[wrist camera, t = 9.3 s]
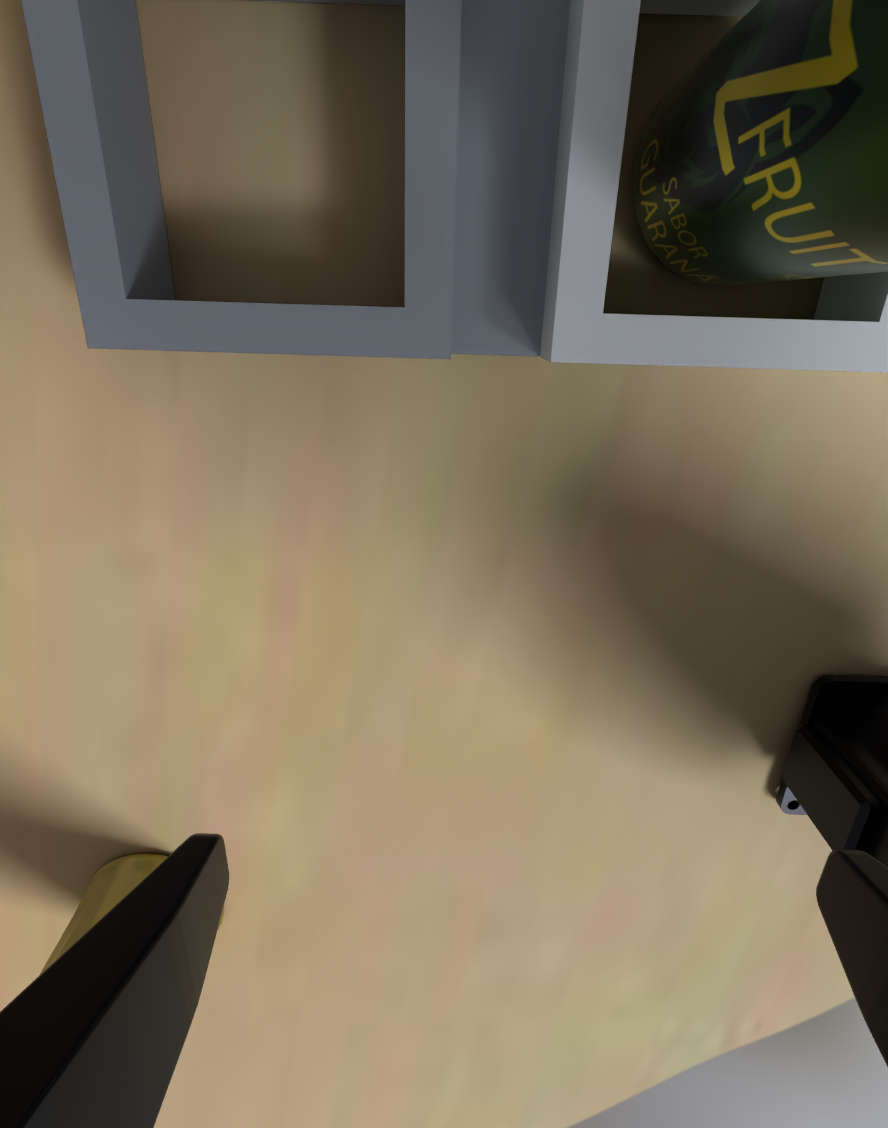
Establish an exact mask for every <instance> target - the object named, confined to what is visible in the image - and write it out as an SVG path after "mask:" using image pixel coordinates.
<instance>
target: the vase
mask: <svg viewBox="0 0 888 1128" xmlns="http://www.w3.org/2000/svg"><path fill="white" fill-rule="evenodd" d="M167 857H168V856H165V855H159V854H134V855H127V856H124V857H120V858H118V859H115V860H113V861H111V862H109V863H107V864H106V865H104V866H103V867H102V868H100V869H99V870H98V871H97V872H96V873H95V875H94V876H93V877H92V879H91V881H90V884H89V886H88V888H87V891H86V893H85V895H84V897H83V899H82V901H81V903H80V904H79V906H78V908H77V910H76V912H75V914H74V916H73V917H72V919H71V921H70V923H69V924H68V926H67V928H66V930H65V931H64V933H63V935H62V937H61V939H60V940H59V942H58V944H57V946H56V947H55V949H54V951H53V952H52V954H51V956H50V958H49V959H48V961H47V963H46V964H45V966H44V968H43V970H42V972H41V973H40V975H41V974H42V973H43V972H44V971H45V970H46V969H47V968H48V967H49V966H50V965H52V964H53V963H54V962H55V961H56V960H57V959H58V958H59V957H60V956H61V955H62V954H63V953H65V952H66V951H67V950H68V949H69V948H70V947H71V946H72V945H73V944H74V943H75V942H76V941H77V940H79V939H80V938H81V937H82V936H83V935H84V934H85V933H86V932H87V931H88V930H89V929H90V928H92V927H93V926H94V925H95V924H96V923H97V922H98V921H99V920H100V919H101V918H102V917H103V916H104V915H106V914H107V913H108V912H109V911H110V910H111V909H112V908H113V907H114V906H115V905H116V904H117V903H119V902H120V901H121V900H122V899H123V898H124V897H125V896H126V895H127V894H128V893H129V892H130V891H131V890H133V889H134V888H135V887H136V886H137V885H138V884H139V883H140V882H141V881H142V880H143V879H144V878H146V877H147V876H148V875H149V874H150V873H151V872H152V871H153V870H154V869H155V868H156V867H157V866H158V865H160V864H161V863H162V862H163V861H164V860H165V859H166V858H167ZM223 914H224V906H223V910H222V914H221V918H220V921H219V925H218V929H219V927H220V925H221V923H222V920H223ZM218 929H217V930H218ZM40 975H39V976H40Z"/></svg>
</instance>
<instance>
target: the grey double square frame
mask: <svg viewBox="0 0 888 1128" xmlns="http://www.w3.org/2000/svg"><path fill="white" fill-rule="evenodd" d="M253 1H283V2H314V3H344V4H375V5H405V307H383V306H350V305H317V304H284V303H251V302H219V301H186V300H176V299H175V292H174V284H173V277H172V269H171V262H170V254H169V247H168V240H167V232H166V225H165V217H164V210H163V202H162V195H161V187H160V180H159V172H158V165H157V157H156V150H155V142H154V135H153V127H152V120H151V113H150V105H149V98H148V90H147V83H146V75H145V68H144V60H143V53H142V45H141V38H140V30H139V23H138V15H137V8H136V0H21V2H22V7H23V12H24V18H25V23H26V28H27V33H28V38H29V44H30V49H31V54H32V59H33V65H34V70H35V75H36V80H37V85H38V91H39V96H40V101H41V106H42V111H43V117H44V122H45V127H46V132H47V138H48V143H49V148H50V153H51V158H52V164H53V169H54V174H55V179H56V185H57V190H58V195H59V200H60V205H61V211H62V216H63V221H64V226H65V232H66V237H67V242H68V247H69V252H70V258H71V263H72V268H73V273H74V279H75V284H76V289H77V294H78V299H79V305H80V310H81V315H82V320H83V326H84V331H85V336H86V341H87V346H88V348H97V349H130V350H164V351H197V352H230V353H263V354H296V355H330V356H363V357H396V358H429V359H451V354H480V355H513V356H540V357H542V358H544V359H546V360H548V361H550V362H562V363H595V364H629V365H662V366H695V367H728V368H761V369H795V370H828V371H861V372H888V272H877V273H866V274H854V275H842V276H831V277H824V279H823V284H822V288H821V292H820V296H819V300H818V304H817V308H816V312H815V316H814V320H809V319H776V318H743V317H711V316H678V315H645V314H612V313H603V309H604V300H605V292H606V284H607V276H608V267H609V259H610V251H611V242H612V234H613V226H614V218H615V209H616V201H617V193H618V185H619V176H620V168H621V160H622V152H623V143H624V135H625V127H626V119H627V110H628V102H629V94H630V86H631V77H632V69H633V61H634V53H635V44H636V36H637V28H638V20H639V13H649V14H680V15H710V16H741V17H744V16H745V15H746V14H747V13H748V12H749V11H750V10H751V9H752V8H753V7H754V6H755V5H756V4H757V3H758V2H759V1H760V0H253Z"/></svg>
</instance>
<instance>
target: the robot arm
mask: <svg viewBox="0 0 888 1128" xmlns="http://www.w3.org/2000/svg"><path fill="white" fill-rule="evenodd" d="M829 687H831V688H830V690H828V691H825V690H826V689H827V688H829ZM776 801H777V803H778V805H779V807H780V808H781V810H782V811H783V812H784V813H786V814H794V815H808V816H809V818H810V819H811V821H812V822H813V823H814V825H815V826H816V828H817V829H818V830H819V832H820V833H821V835H822V836H823V838H824V839H825V840H826V842H827V843H828V845H829V846H830V847H831V849H832V850H833V851H832V852H831V853H830V854H829V856H828V858H827V861H826V864H825V866H824V869H823V872H822V874H821V877H820V879H819V882H818V885H817V890H816V896H817V902H818V905H819V908H820V911H821V913H822V916H823V918H824V921H825V923H826V926H827V928H828V931H829V933H830V936H831V938H832V941H833V943H834V946H835V948H836V951H837V953H838V956H839V958H840V961H841V963H842V966H843V968H844V971H845V973H846V976H847V978H848V981H849V983H850V986H851V988H852V991H853V993H854V996H855V998H856V1001H857V1003H858V1005H859V1008H860V1010H861V1012H862V1014H863V1017H864V1019H865V1021H866V1023H867V1026H868V1028H869V1030H870V1032H871V1034H872V1036H873V1038H874V1040H875V1042H876V1044H877V1046H878V1048H879V1050H880V1052H881V1054H882V1056H883V1058H884V1060H885V1062H886V1064H887V1066H888V677H886V676H850V675H824V676H821V677H819V678H818V679H817V680H815V681H814V683H813V685H812V687H811V690H810V693H809V696H808V700H807V703H806V706H805V709H804V712H803V715H802V719H801V722H800V725H799V728H798V730H797V732H796V735H795V738H794V741H793V744H792V747H791V750H790V754H789V757H788V760H787V763H786V766H785V769H784V773H783V776H782V782H781V785H780V788H779V791H778V794H777V797H776ZM228 885H229V870H228V864H227V857H226V851H225V844H224V840H223V837H222V836H221V835H219V834H204V833H197V834H194V835H192V836H190V837H189V838H188V839H187V840H186V841H184V842H183V843H182V844H181V845H180V846H179V847H178V848H177V849H176V850H175V851H174V852H173V853H171V854H170V855H169V856H168V857H167V858H166V859H165V860H164V861H163V862H162V863H161V864H160V865H158V866H157V867H156V868H155V869H154V870H153V871H152V872H151V873H150V874H149V875H148V876H147V877H146V878H144V879H143V880H142V881H141V882H140V883H139V884H138V885H137V886H136V887H135V888H134V889H133V890H131V891H130V892H129V893H128V894H127V895H126V896H125V897H124V898H123V899H122V900H121V901H120V902H119V903H117V904H116V905H115V906H114V907H113V908H112V909H111V910H110V911H109V912H108V913H107V914H106V915H104V916H103V917H102V918H101V919H100V920H99V921H98V922H97V923H96V924H95V925H94V926H93V927H92V928H90V929H89V930H88V931H87V932H86V933H85V934H84V935H83V936H82V937H81V938H80V939H79V940H77V941H76V942H75V943H74V944H73V945H72V946H71V947H70V948H69V949H68V950H67V951H66V952H65V953H63V954H62V955H61V956H60V957H59V958H58V959H57V960H56V961H55V962H54V963H53V964H52V965H50V966H49V967H48V968H47V969H46V970H45V971H44V972H43V973H42V974H41V975H40V976H39V977H38V978H36V979H35V980H34V981H33V982H32V983H31V984H30V985H29V986H28V987H27V988H26V989H25V990H23V991H22V992H21V993H20V994H19V995H18V996H17V997H16V998H15V999H14V1000H13V1001H12V1002H10V1003H9V1004H8V1005H7V1006H6V1007H5V1008H4V1009H3V1010H2V1011H1V1012H0V1128H153V1127H154V1124H155V1122H156V1119H157V1116H158V1113H159V1111H160V1108H161V1105H162V1102H163V1100H164V1097H165V1094H166V1091H167V1089H168V1086H169V1083H170V1080H171V1078H172V1075H173V1072H174V1070H175V1067H176V1064H177V1061H178V1059H179V1056H180V1053H181V1050H182V1048H183V1045H184V1042H185V1039H186V1037H187V1034H188V1031H189V1028H190V1026H191V1023H192V1020H193V1017H194V1014H195V1011H196V1008H197V1005H198V1001H199V998H200V994H201V991H202V987H203V983H204V980H205V976H206V972H207V968H208V964H209V960H210V956H211V952H212V949H213V945H214V941H215V937H216V933H217V929H218V925H219V921H220V918H221V914H222V910H223V906H224V902H225V898H226V894H227V890H228Z"/></svg>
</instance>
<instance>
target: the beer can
mask: <svg viewBox="0 0 888 1128" xmlns="http://www.w3.org/2000/svg"><path fill="white" fill-rule="evenodd" d="M633 181H634V198H635V214H636V216H637V219H638V222H639V224H640V227H641V230H642V232H643V235H644V238H645V240H646V243H647V245H648V246H649V247H650V249H651V250H652V251H653V252H654V253H655V255H656V256H657V257H658V258H659V259H660V261H661V262H662V263H663V264H664V265H665V267H666V268H668V269H670V270H672V271H673V272H675V273H677V274H679V275H681V276H682V277H684V278H686V279H688V280H690V281H691V282H697V283H704V284H711V285H719V286H725V285H737V284H748V283H760V282H772V281H784V280H795V279H807V278H819V277H831V276H842V275H854V274H866V273H877V272H888V0H760V1H759V2H758V3H757V4H756V5H755V6H754V7H753V8H752V9H751V10H750V11H749V12H748V13H747V14H746V15H745V16H744V17H743V18H742V19H741V20H740V21H739V22H738V23H737V24H736V25H735V26H734V27H733V28H732V29H731V30H730V31H729V32H728V33H727V34H726V35H725V36H724V37H723V38H722V39H721V40H720V41H719V42H718V43H717V44H716V45H715V46H714V47H713V48H712V49H711V50H710V51H709V52H708V53H707V54H706V55H705V56H704V57H703V58H702V59H701V60H700V61H699V62H698V63H697V64H696V65H695V66H694V67H693V68H692V69H691V70H690V71H689V72H688V73H687V74H686V75H685V76H684V77H683V78H682V79H681V80H680V81H679V83H678V84H677V85H676V86H675V87H674V88H673V89H672V91H671V92H670V93H669V94H668V95H667V96H666V97H665V98H664V100H663V101H662V102H661V103H660V104H659V106H658V108H657V110H656V112H655V114H654V116H653V118H652V120H651V122H650V124H649V126H648V128H647V130H646V132H645V134H644V136H643V138H642V140H641V144H640V149H639V153H638V158H637V163H636V168H635V172H634V177H633Z"/></svg>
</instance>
